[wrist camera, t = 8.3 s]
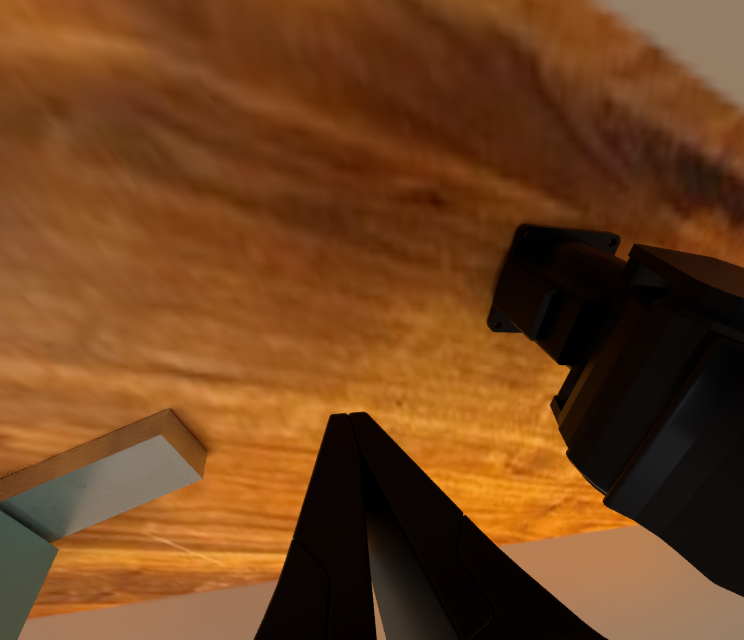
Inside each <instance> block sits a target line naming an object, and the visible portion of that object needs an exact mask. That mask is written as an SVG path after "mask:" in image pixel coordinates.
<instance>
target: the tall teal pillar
mask: <svg viewBox="0 0 744 640" xmlns="http://www.w3.org/2000/svg"><path fill="white" fill-rule="evenodd" d="M58 550H59V549H58V548H56V547H55V546H53V545H52V544H50V543H49V542H47V541H46V540H44V539H43V538H41V537H40V536H38V535H37V534H35V533H34V532H32V531H31V530H29V529H28V528H26V527H25V526H23V525H22V524H20V523H18V522H17V521H15V520H14V519H12V518H11V517H9V516H8V515H6V514H5V513H3V512H2V511H0V640H17V639H18V637H19V635H20V632H21V630H22V628H23V626H24V624H25V622H26V620H27V617H28V615H29V613H30V611H31V609H32V606H33V604H34V602H35V600H36V598H37V596H38V593H39V591H40V589H41V587H42V585H43V583H44V580H45V578H46V576H47V574H48V572H49V569H50V567H51V565H52V563H53V561H54V559H55V556H56V554H57V552H58Z"/></svg>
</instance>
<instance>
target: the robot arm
mask: <svg viewBox="0 0 744 640" xmlns="http://www.w3.org/2000/svg"><path fill="white" fill-rule="evenodd" d="M527 231H529V233H528V235H527V236H526V237H524V234H525V232H527ZM610 240H611V242H610V243H609V241H610ZM608 243H609V244H608ZM619 244H620V237H619V235H616V234H614V233H611V232H602V231H593V230H583V229H573V228H564V227H554V226H544V225H535V224H523V225H521V226H520V227H519V228H518V230H517V232H516V234H515V238H514V241H513V244H512V247H511V250H510V253H509V256H508V259H507V262H506V263H505V265H504V268H503V271H502V275H501V278H500V281H499V284H498V287H497V290H496V293H495V296H494V300H493V306H492V309H491V312H490V315H489V318H488V321H487V325H488V327H489V328H490V329H491V330H492V331H493V332H510V333H523V334H524V335H525V336H526V337H527V338H528V339H529V340H531V341H535V342H536V343H537V344H538V345H539V346H540V347H541V348H542V349H543V350H544V351H545V352H546V353H547V354H548V355H549V356H550V357H551V358H552V359H553V360H554V361H555V362H556V363H557V364H558V365H566V366H567V367H568V368H569V369H570V372H569V374H568V376H567V378H566V380H565V382H564V383H563V385H562V387H561V389H560V391H559V393H558V395H556V396H554V398H553V400H552V402H551V404H550V407H551V409H552V411H553V414H554V416H555V418H556V421H557V423H558V425H559V431H560V433H561V435H562V437H563V439H564V441H565V443H566V445H567V447H568V449H567V451H566V455H567V457H568V459H569V461H570V462H571V463H572V464H573V465H574V466H575V468H576V469H577V470H578V471H579V472H580V473H581V474H582V475H583V477H584V478H585V479H586V480H587V481H588V482H589V483H590V484H591V485H592V486H593V487H594V488H595V489H597V490H598V491H599V492H601V493H602V494H603V495H605V497H604V499H603V503H604V505H605V506H607V507H608V508H610V509H612V510H614V511H616V512H618V513H620V514H622V515H624V516H626V517H628V518H630V519H632V520H634V521H635V522H637V523H638V524H640V525H641V526H643V527H645V528H646V529H648V530H649V531H650V532H652V533H654V534H655V535H657V536H658V537H659V538H661V539H662V540H663V541H664V542H666V543H667V544H668V545H669V546H671V547H672V548H673V549H674V550H676V551H677V552H678V553H679V554H680V555H681V556H682V557H684V558H685V559H686V560H687V561H688V562H690V563H691V564H692V565H693V566H694V567H695V568H696V569H697V570H699V571H700V572H701V573H702V574H703V575H704V576H706V577H707V578H708V579H709V580H710V581H712V582H713V583H715V584H716V585H718V586H720V587H723V588H725V589H727V590H729V591H732V592H734V593H736V594H738V595H740V596H743V597H744V268H742V267H740V266H737V265H734V264H731V263H728V262H725V261H722V260H719V259H716V258H712V257H707V256H702V255H696V254H691V253H685V252H680V251H674V250H669V249H663V248H658V247H652V246H647V245H641V244H634V245H633V247H632V249H631V251H630V253H629V254H628V256H629V257H630V258H629V260H628V262H626V261H624V260H622V259H620V258H618V257H616V256H614V255H615V253H616V250H617V248H618V246H619ZM498 321H499V322H498ZM496 322H498V324H496V325H494V324H495V323H496ZM371 580H372V581H371ZM372 584H373V588H374V592H375V596H376V600H377V604H378V608H379V612H380V616H381V620H382V624H383V628H384V632H385V636H386V640H608V639H607V638H605V637H603V636H602V635H601V634H599V633H598V632H596V631H595V630H594V629H592V628H591V627H590V626H588V625H587V624H586V623H585V622H584V621H582V620H581V619H580V618H579V617H578V616H576V615H575V614H574V613H573V612H572V611H570V610H569V609H568V608H567V607H566V606H565V605H564V604H562V603H561V602H560V601H559V600H558V599H557V598H555V597H554V596H553V595H552V594H551V593H550V592H548V591H547V590H546V589H545V588H543V587H542V586H541V585H540V584H539V583H538V582H537V581H536V580H534V579H533V578H532V577H531V576H530V575H529V574H527V573H526V572H525V571H524V570H523V569H521V568H520V567H519V566H518V565H517V564H516V563H515V562H514V561H513V560H512V559H510V558H509V557H508V556H507V555H506V554H505V553H504V552H503V551H502V550H500V549H499V548H498V547H497V546H496V545H495V544H494V543H493V542H492V541H491V540H490V539H489V538H488V537H487V536H486V535H485V534H484V533H483V532H482V531H481V530H480V529H479V528H478V527H477V526H476V525H475V524H474V523H473V522H472V521H471V520H470V519H469V518H468V517H467V516H466V515H464V516H463V512H462V511H461V510H460V509H459V508H458V507H457V506H456V504H455V503H454V502H453V501H452V500H451V499H450V498H449V497H448V496H447V495H446V494H445V493H444V492H443V491H442V490H441V489H440V488H439V487H438V486H437V485H436V484H435V483H434V482H433V481H432V480H431V479H430V478H429V477H428V476H427V474H426V473H425V472H424V471H423V470H422V469H421V468H420V467H419V466H418V465H417V464H416V463H415V462H414V461H413V460H412V459H411V458H410V457H409V456H408V455H407V454H406V453H405V452H404V451H403V450H402V449H401V448H400V447H399V445H398V444H397V443H396V442H395V441H394V440H393V439H392V438H391V437H390V436H389V435H388V434H387V433H386V432H385V431H384V430H383V429H382V428H381V427H380V426H379V425H378V424H377V423H376V422H375V421H374V420H373V419H372V418H371V417H370V415H369V414H368V413H366V412H354V413H350V414H349V415H348V414H346V413H340V414H331V415H330V417H329V420H328V423H327V426H326V430H325V433H324V436H323V439H322V443H321V446H320V449H319V453H318V456H317V459H316V462H315V466H314V469H313V472H312V476H311V479H310V482H309V485H308V489H307V492H306V495H305V499H304V502H303V505H302V508H301V512H300V515H299V518H298V522H297V525H296V528H295V531H294V535H293V540H292V541H291V544H290V547H289V550H288V554H287V557H286V560H285V563H284V566H283V569H282V572H281V574H280V577H279V580H278V583H277V586H276V588H275V591H274V593H273V596H272V598H271V601H270V603H269V605H268V608H267V610H266V613H265V615H264V618H263V620H262V622H261V624H260V627H259V629H258V631H257V633H256V635H255V638H254V640H377V637H376V625H375V615H374V603H373V592H372Z"/></svg>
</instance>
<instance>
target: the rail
mask: <svg viewBox="0 0 744 640" xmlns="http://www.w3.org/2000/svg"><path fill="white" fill-rule="evenodd" d="M206 457H207V451H206V450H205V449H204V448H203V447H202V446H201V444H200V443H199V442H198V441H197V440H196V439H195V438H194V436H193V435H192V434H191V433H190V432H189V431H188V430H187V428H186V427H185V426H184V425H183V424H182V423H181V422H180V421H179V419H178V418H177V417H176V416H175V415H174V414H173V413H172V411H171V410H170V409H167V410H165V411H162V412H160V413H157V414H155V415H153V416H150V417H148V418H146V419H143V420H141V421H138V422H136V423H134V424H131V425H129V426H126V427H124V428H122V429H119V430H117V431H114V432H112V433H110V434H107V435H105V436H102V437H100V438H98V439H95V440H93V441H90V442H88V443H86V444H83V445H81V446H79V447H76V448H74V449H71V450H69V451H67V452H64V453H62V454H59V455H57V456H55V457H52V458H50V459H47V460H45V461H43V462H40V463H38V464H35V465H33V466H31V467H28V468H26V469H23V470H21V471H19V472H16V473H14V474H12V475H9V476H7V477H4V478H2V479H0V511H2V512H3V513H5V514H6V515H8V516H9V517H11V518H12V519H14V520H15V521H17V522H18V523H20V524H22V525H23V526H25V527H26V528H28V529H29V530H31V531H32V532H34V533H35V534H37V535H38V536H40V537H41V538H43V539H44V540H46V541H47V542H49V543H51V542H54V541H56V540H58V539H61V538H63V537H66V536H68V535H70V534H73V533H75V532H77V531H80V530H82V529H85V528H87V527H89V526H92V525H94V524H97V523H99V522H101V521H104V520H106V519H108V518H111V517H113V516H116V515H118V514H120V513H123V512H125V511H127V510H130V509H132V508H135V507H137V506H139V505H142V504H144V503H147V502H149V501H151V500H154V499H156V498H158V497H161V496H163V495H166V494H168V493H170V492H173V491H175V490H177V489H180V488H182V487H185V486H187V485H189V484H192V483H194V482H196V481H199V480H201V479H203V474H204V469H205V463H206Z"/></svg>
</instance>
